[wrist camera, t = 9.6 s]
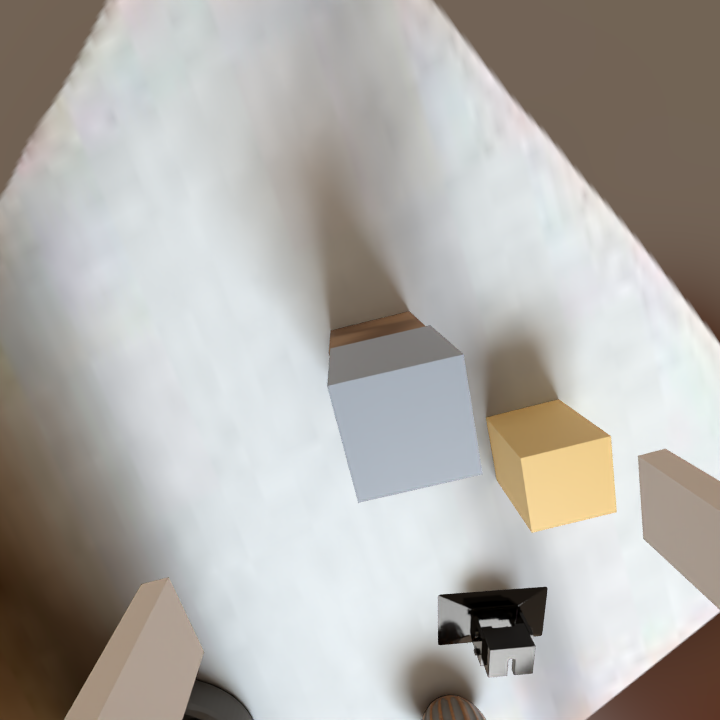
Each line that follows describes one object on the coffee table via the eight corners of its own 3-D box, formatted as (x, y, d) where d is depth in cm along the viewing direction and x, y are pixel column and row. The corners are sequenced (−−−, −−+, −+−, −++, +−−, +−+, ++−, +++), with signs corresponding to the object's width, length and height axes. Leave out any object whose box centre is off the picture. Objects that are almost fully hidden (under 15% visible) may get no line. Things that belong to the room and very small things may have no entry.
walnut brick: (349, 403, 29) (353, 442, 23) (330, 330, 27) (328, 353, 22) (424, 385, 29) (445, 420, 23) (409, 311, 27) (428, 328, 22)
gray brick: (353, 438, 23) (358, 502, 17) (330, 348, 22) (327, 385, 16) (446, 417, 23) (482, 474, 17) (430, 325, 22) (463, 354, 16)
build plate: (420, 646, 36) (432, 702, 32) (420, 581, 34) (432, 631, 30) (555, 635, 37) (584, 688, 32) (562, 570, 35) (595, 617, 30)
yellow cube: (496, 479, 31) (531, 532, 26) (485, 417, 30) (520, 458, 24) (565, 462, 31) (616, 512, 26) (558, 398, 30) (610, 436, 24)
